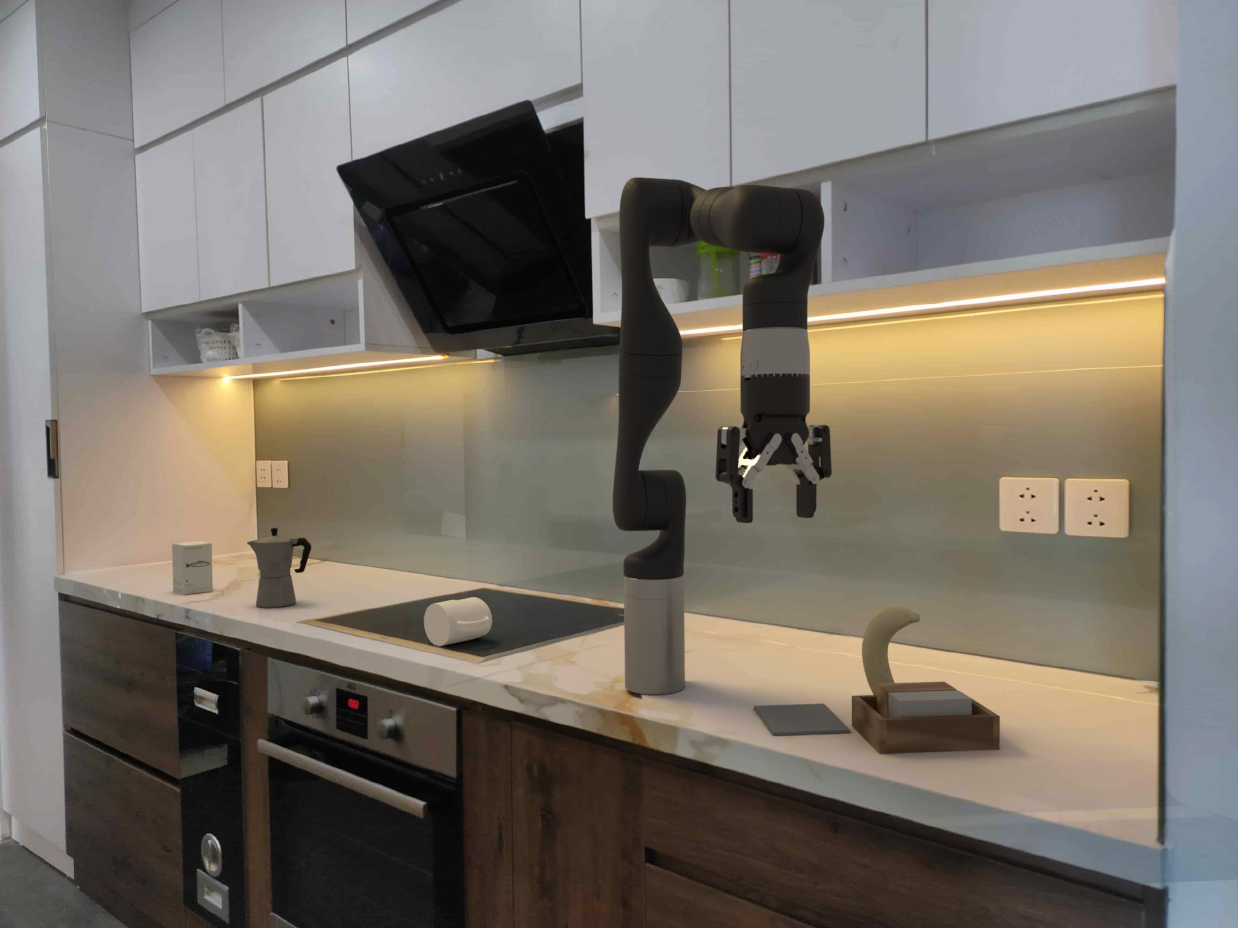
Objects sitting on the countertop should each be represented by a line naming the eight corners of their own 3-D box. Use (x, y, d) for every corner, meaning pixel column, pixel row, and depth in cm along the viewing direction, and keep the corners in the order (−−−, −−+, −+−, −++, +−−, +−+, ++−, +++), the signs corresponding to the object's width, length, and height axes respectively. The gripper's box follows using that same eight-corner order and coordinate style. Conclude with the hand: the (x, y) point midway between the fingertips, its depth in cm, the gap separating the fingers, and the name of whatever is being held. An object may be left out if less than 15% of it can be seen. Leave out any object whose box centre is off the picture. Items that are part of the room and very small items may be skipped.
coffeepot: (238, 607, 200) (236, 530, 200) (259, 600, 210) (257, 525, 209) (303, 608, 199) (301, 529, 198) (320, 600, 208) (319, 525, 208)
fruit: (866, 684, 126) (850, 691, 124) (880, 591, 121) (864, 596, 119) (906, 710, 120) (890, 717, 118) (923, 613, 115) (906, 619, 113)
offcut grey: (888, 740, 109) (888, 692, 109) (958, 737, 109) (958, 690, 109) (899, 749, 105) (899, 700, 105) (971, 747, 106) (971, 698, 106)
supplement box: (183, 595, 217) (182, 545, 217) (172, 592, 222) (171, 543, 222) (213, 591, 222) (212, 542, 222) (202, 588, 228) (201, 540, 227)
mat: (753, 708, 122) (753, 705, 121) (823, 706, 122) (823, 703, 122) (773, 735, 111) (773, 732, 111) (850, 732, 111) (849, 729, 111)
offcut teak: (876, 729, 113) (876, 683, 113) (944, 726, 113) (944, 681, 113) (887, 738, 109) (887, 691, 109) (956, 736, 110) (956, 689, 110)
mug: (421, 642, 164) (420, 600, 164) (461, 633, 171) (460, 593, 171) (461, 652, 156) (460, 608, 156) (501, 642, 163) (500, 600, 163)
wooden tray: (851, 725, 114) (851, 695, 114) (961, 721, 115) (961, 691, 115) (880, 753, 104) (879, 720, 104) (999, 748, 105) (999, 716, 105)
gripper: (802, 375, 102) (802, 513, 103) (701, 373, 95) (702, 520, 96) (848, 372, 95) (847, 519, 96) (743, 369, 88) (743, 527, 89)
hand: (775, 519), depth 96 cm, fingers open, 8 cm apart
